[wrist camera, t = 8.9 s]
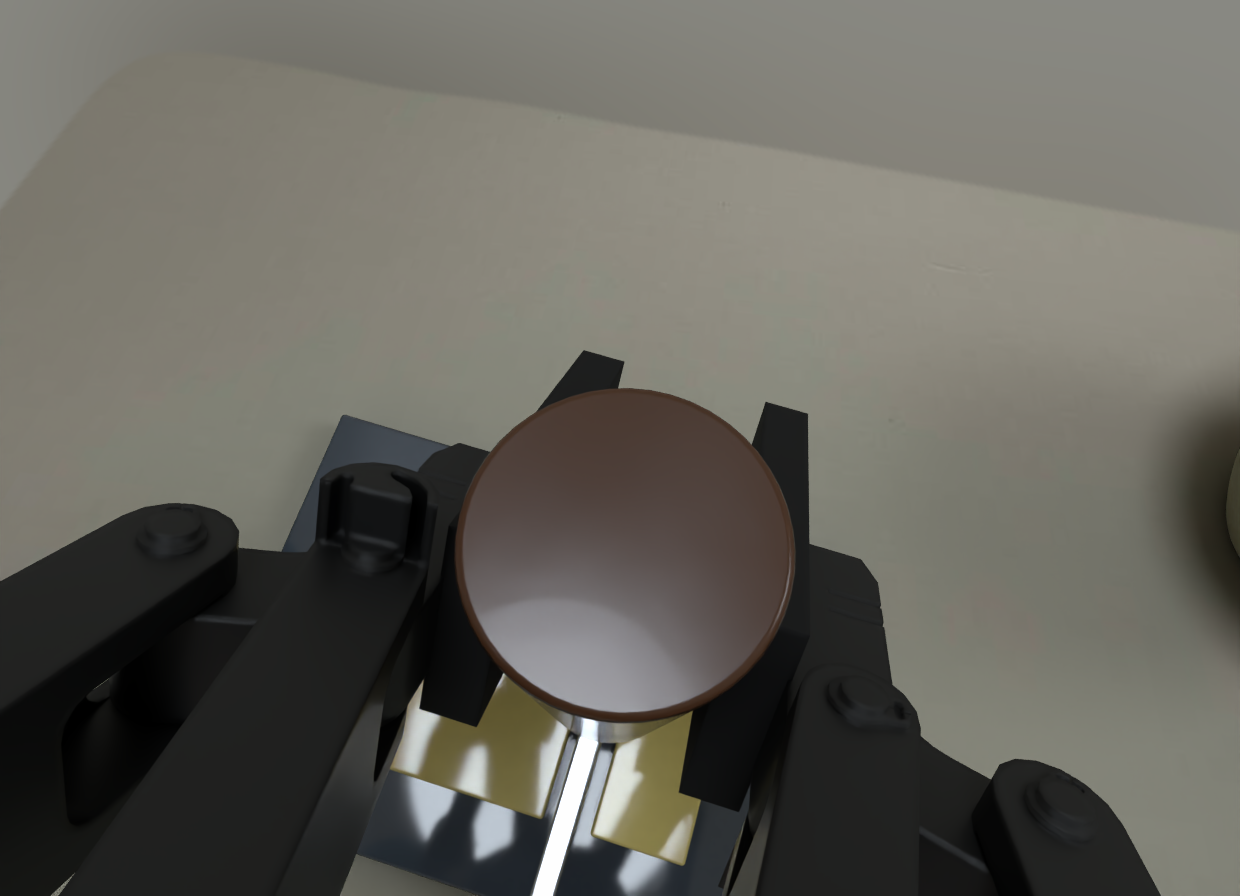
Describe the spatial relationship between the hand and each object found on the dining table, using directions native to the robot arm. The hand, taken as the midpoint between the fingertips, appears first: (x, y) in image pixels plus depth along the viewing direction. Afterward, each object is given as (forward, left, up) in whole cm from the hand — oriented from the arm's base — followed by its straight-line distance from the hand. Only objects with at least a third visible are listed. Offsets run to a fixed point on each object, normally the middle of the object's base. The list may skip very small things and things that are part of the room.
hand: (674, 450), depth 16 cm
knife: (+2, -4, -9) cm, 9 cm away
